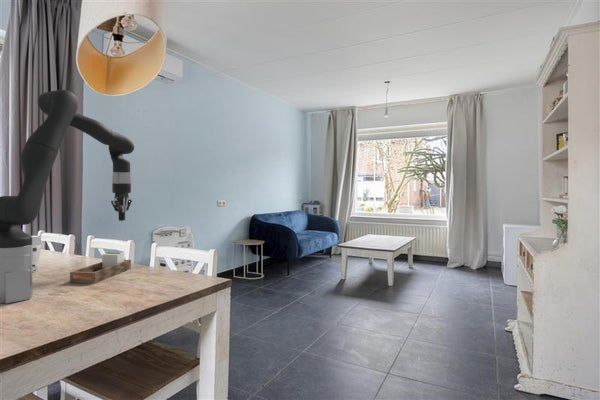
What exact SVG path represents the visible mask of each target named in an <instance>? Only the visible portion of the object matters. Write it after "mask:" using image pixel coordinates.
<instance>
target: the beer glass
mask: <svg viewBox="0 0 600 400" xmlns="http://www.w3.org/2000/svg"><path fill="white" fill-rule="evenodd" d="M30 236H31V237H32V273H36V272H39V271H41V269H40V263H39V260H40V255H41V249H42V242H41V241H42V240H41V235H30Z"/></svg>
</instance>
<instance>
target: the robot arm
mask: <svg viewBox="0 0 600 400" xmlns="http://www.w3.org/2000/svg"><path fill="white" fill-rule="evenodd" d="M78 103H79V101H78V99H77V96H76V95H75V94H74V93H73V92H72V91H70V90H69V89H68V90H67V89H57V90H51V91H47V92H43V93H41V94H40V95H39V96H38V97H37V105H38V108H39V109H40V110H41V112H42V113H44V114H45V115H46V116H47V117H46V119H45V120H44V121H43V122H42V124H40V125H39V126H38V128H36V130H34V131H33V132H32V133H31V134H30V135H29V137H28V138H27V139H26V141H25V144H24V146H23V148H22V151H21V153H20V157H19V159H20V160H19V162H20V166H21V170H22V173H23V182H22V185H21V188H20V191H19V193H18V195H3V196H2V195H1V196H0V304H10V303H17V302H21V301H26V300H31V298H32V297H33V294H34V293H33V292H34V291H33V289H34V287H33V285H34V284H33V283H34V282H33V272H32V237H31V236H32V235H31V234H29V233H26V232H25V231H23V229H22V227H21V226H25V225H30V224H31V223H33V222H34V221H35V220H36V218H37V217H38V215H39V212H40V209H41V205H42V201H43V197H44V194H45V189H46V185H47V182H48V180H49V177H50V174H51V171H52V168H53V167H54V164H55V162H56V158H57V156H58V153H59V151H60V148H61V145H62V143H63V140H64V138H65V135H66V132H67V130H68V128H69V126H71V127H73V128H74V129H77V130H79V131H80V132H82V133H85V134H86V135H88V136H89V137H91V138H92V139H94V140H96V141H98V142H99V143H101V144H103V145H104V146H108V151H109V155H110V158H111V163H112V177H111V178H112V179H111V183H112V184H111V187H112V189H111V190H112V191H111V192H112V193H113V194H114V197H113V198H114V199H113V200H111V201H110V203H111V205H112V207H113V209H114V211H115V212H116V213H118V221H120V222H121V221H122V222H123V221H126V212H127V211H129V209H130V206H131V205H132V202H133V200H132V199H130V196H129V194H131V193H132V176H131V161H129V160H128V159H125V158H124V155H129V154H132V153H133V152H134V149H135V145H134V143H133V141H132V140H131V139H130V138H128V137H126V136H125V135H123V134H120V133H118V132H116V131H113V130H112V129H111V128H109V127H108V126H106V125H105V124H104V123H102V122H100V121H98V120H96V119H93V118H90V117H87V116H86V115H83V114H80V113H79V112H77V111H78V108H79V107H78V106H79V104H78Z"/></svg>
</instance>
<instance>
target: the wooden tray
mask: <svg viewBox="0 0 600 400" xmlns="http://www.w3.org/2000/svg"><path fill="white" fill-rule="evenodd" d="M129 270H132V259H124V262H121V263H118V264H115V265H113V266H110V267H107V268H102V261H100V262H98V263H94V264H90V265H87V266H85V267H82V268H78V269H75V270H73V271H70V272H69V283H71V284H72V283H73V284H97V283H100V282H102V281H104V280H107V279H109V278H112V277H115V276H117V275H119V274H121V273H124V272H127V271H129Z"/></svg>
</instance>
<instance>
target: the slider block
mask: <svg viewBox="0 0 600 400" xmlns="http://www.w3.org/2000/svg"><path fill="white" fill-rule="evenodd" d="M124 260H125V252H118V251H117V252H110V251H109V252H108V251H107V252H106V253H102V254H101V262H102V268H107V267H110V266H113V265H115V264H118V263H121V262H124Z"/></svg>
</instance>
